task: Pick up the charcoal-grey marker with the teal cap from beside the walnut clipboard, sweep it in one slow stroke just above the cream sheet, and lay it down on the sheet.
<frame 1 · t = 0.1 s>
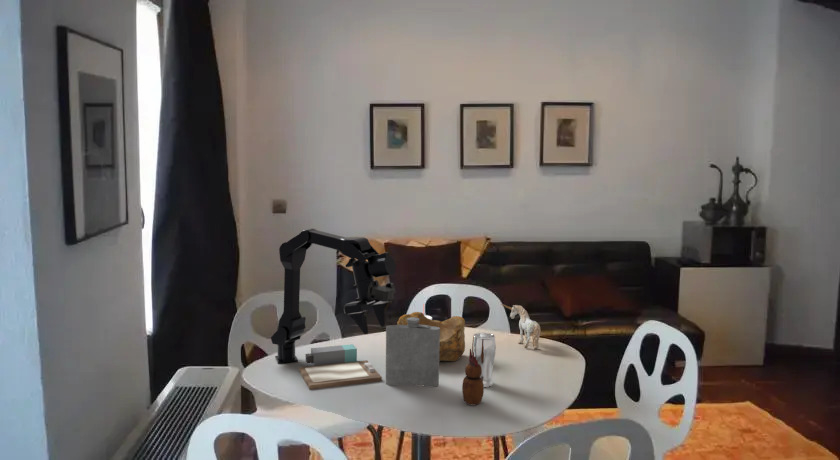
hand: (374, 330, 199), 15 cm above the table, fingers open, 9 cm apart
beer glass: (482, 384, 199), on the table
unicorn figurine: (519, 346, 237), on the table
marker: (333, 363, 215), on the table
wooden figurine: (472, 403, 184), on the table
rough brown rock: (430, 361, 219), on the table
hip flask: (412, 384, 198), on the table
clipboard: (339, 375, 204), on the table
beverage cup: (423, 341, 240), on the table
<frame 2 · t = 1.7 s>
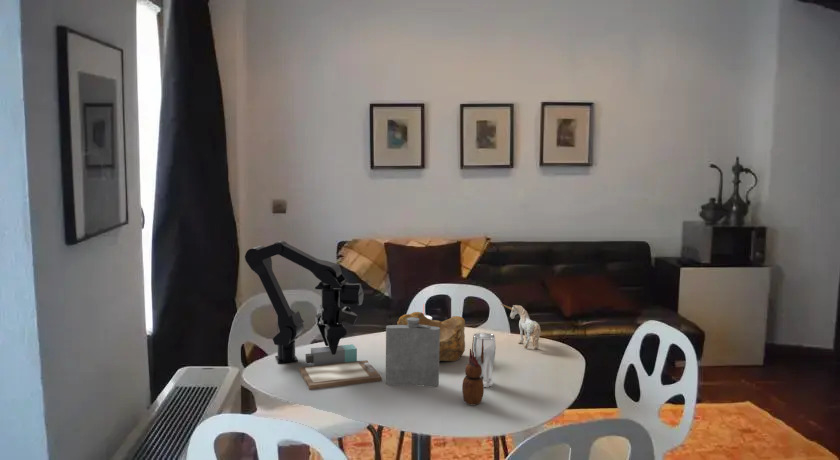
hand: (330, 350, 214), 4 cm above the table, fingers open, 9 cm apart
nothing on the table moved.
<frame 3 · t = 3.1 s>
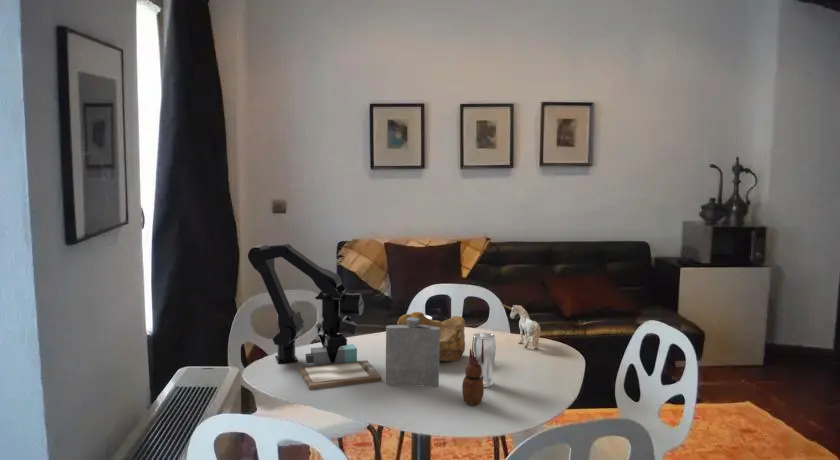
hand: (330, 359, 215), 1 cm above the table, fingers closed on marker, 5 cm apart
marker: (333, 363, 215), on the table, touching gripper
everything else where it was.
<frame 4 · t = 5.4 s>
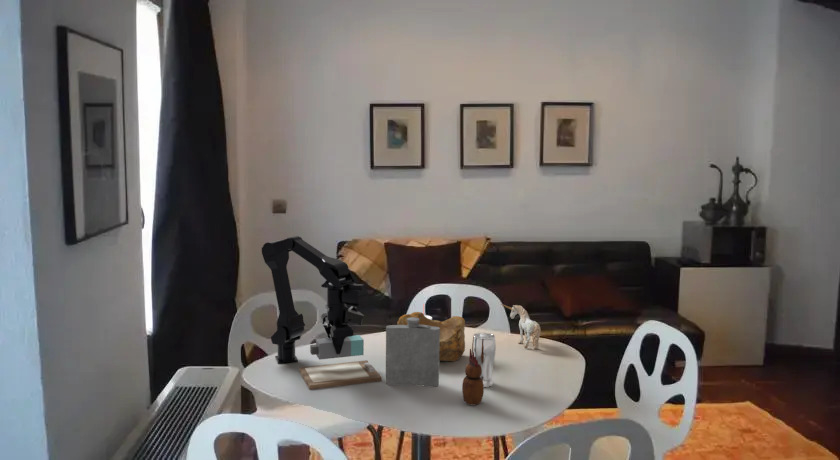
hand: (336, 351, 206), 7 cm above the table, fingers closed on marker, 5 cm apart
marker: (339, 354, 207), point 5 cm above the table, touching gripper
everything else where it was.
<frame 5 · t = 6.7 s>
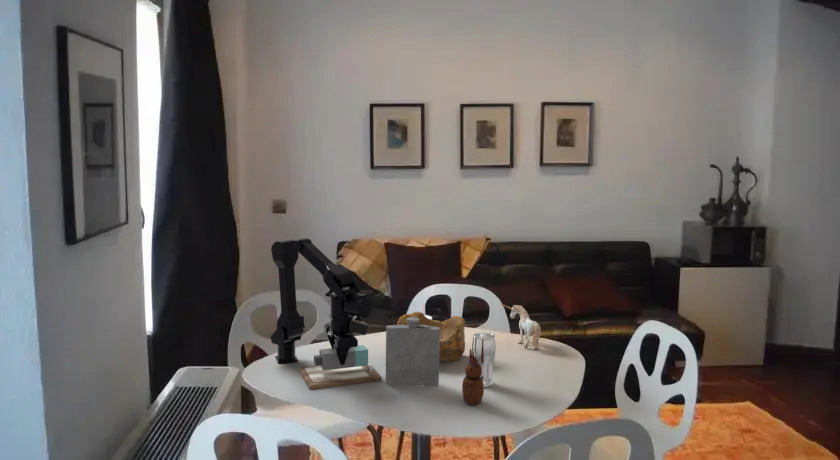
hand: (340, 361, 203), 5 cm above the table, fingers closed on marker, 5 cm apart
marker: (343, 365, 203), point 3 cm above the table, touching gripper
everything else where it was.
when the fingers open (4 cm above the table, at t = 7.9 s): marker drops 1 cm, resting on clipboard.
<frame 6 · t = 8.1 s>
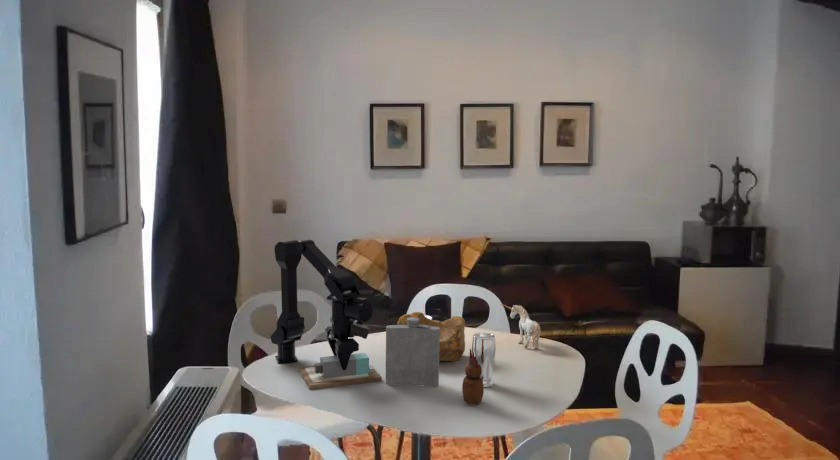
hand: (341, 365, 201), 4 cm above the table, fingers open, 7 cm apart
marker: (344, 373, 202), point 1 cm above the table, touching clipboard
everything else where it was.
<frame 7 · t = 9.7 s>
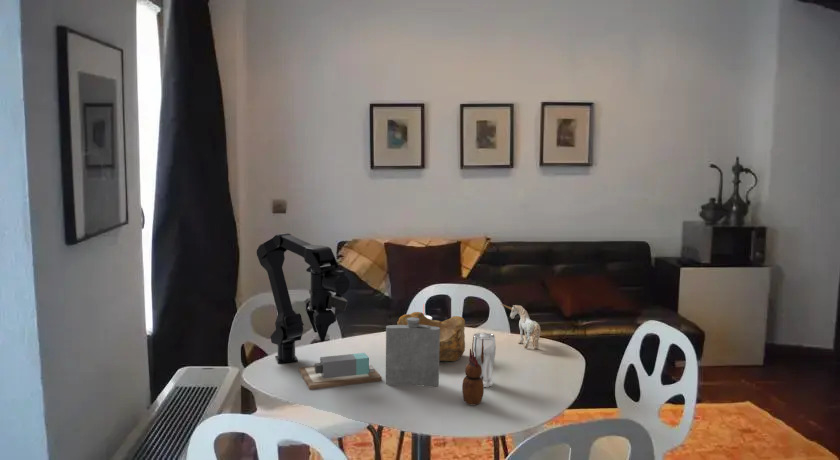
hand: (319, 336, 205), 11 cm above the table, fingers open, 9 cm apart
nothing on the table moved.
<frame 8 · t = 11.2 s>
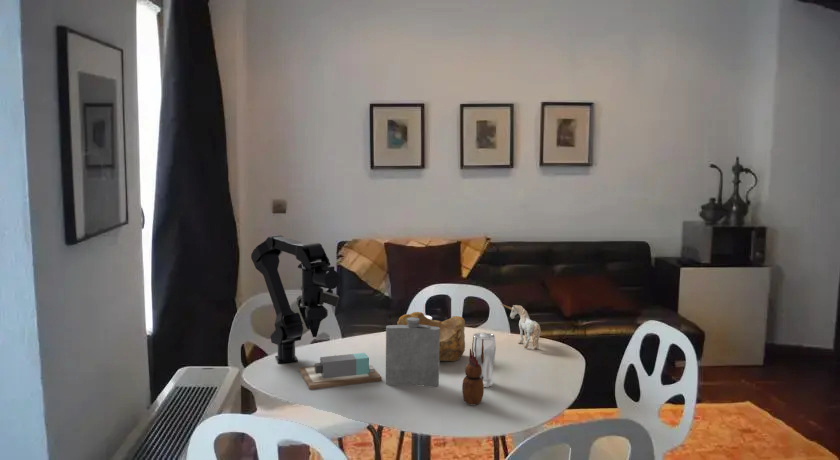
hand: (311, 332, 207), 12 cm above the table, fingers open, 9 cm apart
nothing on the table moved.
at the end: marker inside the target area on the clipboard (1.8 cm from its centre), point 1.4 cm above the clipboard's base; marker touching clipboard; the gripper is holding nothing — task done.
